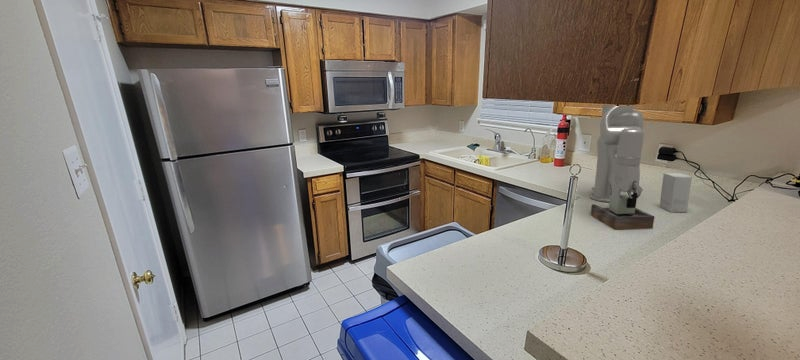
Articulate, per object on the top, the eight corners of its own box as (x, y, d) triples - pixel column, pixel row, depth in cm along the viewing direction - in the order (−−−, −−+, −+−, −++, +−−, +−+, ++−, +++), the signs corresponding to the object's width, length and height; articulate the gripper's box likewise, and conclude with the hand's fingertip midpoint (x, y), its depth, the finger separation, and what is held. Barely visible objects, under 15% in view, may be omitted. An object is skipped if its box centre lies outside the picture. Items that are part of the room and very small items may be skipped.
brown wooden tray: (590, 215, 136) (591, 204, 135) (623, 213, 136) (625, 203, 135) (615, 229, 120) (617, 217, 119) (652, 228, 120) (654, 216, 119)
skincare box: (686, 212, 134) (693, 176, 130) (668, 212, 135) (675, 176, 132) (674, 206, 142) (680, 172, 138) (657, 206, 143) (663, 172, 140)
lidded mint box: (608, 212, 130) (611, 185, 127) (625, 211, 130) (629, 185, 127) (616, 216, 125) (619, 189, 122) (634, 216, 125) (638, 188, 122)
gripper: (604, 157, 131) (599, 197, 135) (634, 166, 114) (627, 211, 118) (622, 156, 131) (617, 196, 135) (655, 165, 114) (648, 210, 118)
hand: (622, 203), depth 126 cm, fingers open, 9 cm apart
